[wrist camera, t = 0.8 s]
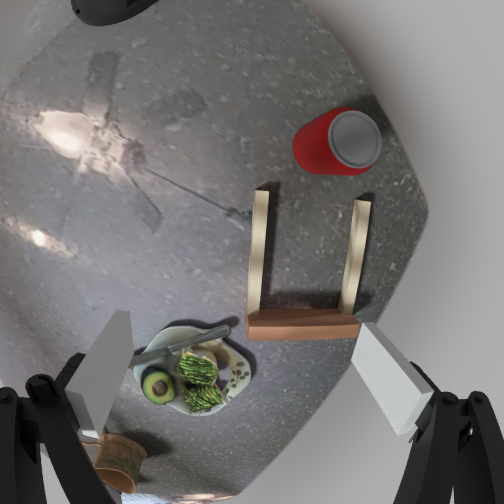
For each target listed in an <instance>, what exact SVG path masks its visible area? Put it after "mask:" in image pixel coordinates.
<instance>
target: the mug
mask: <svg viewBox="0 0 504 504" xmlns="http://www.w3.org/2000/svg"><path fill="white" fill-rule="evenodd" d="M81 443H82V444H83V445H97V446H99V447H100V448H99V451H98V454H97V457H96V460H95V463H92V464H93V466H94V468H95V469H96V471H97V473H98V475H99V476H100V478H101V480H103V481H104V482H106V483H107V484H109V485H110V486H112V487H114V488H115V489H117V490H119V491H122V492H124V493H127V494H133V493H134V492H135V490H136V485H137V479H138V474H139V470H140V466H141V462H143V461H145V460H146V458H147V453H146V451H145V449H144V448H143V447H142V446H141V445H139V444H138V443H137V442H135V441H133V440H132V439H129V438H127V437H125V436H122V435H118V434H113V433H104V434H101V436H100V439H98V443H96V442H93V443H87V442H83V441H81Z"/></svg>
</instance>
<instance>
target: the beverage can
mask: <svg viewBox="0 0 504 504" xmlns="http://www.w3.org/2000/svg"><path fill="white" fill-rule="evenodd" d="M381 149H382V137H381V133H380V130H379V128H378V126H377V125H376V123H375V122H374V121H373V120H372V119H371V118H370V117H369V116H368V115H366V114H364V113H362V112H361V111H359V110H356V109H354V108H350V107H338V108H335V109H332V110H330V111H329V112H327V113H325V114H323V115H321V116H319V117H318V118H316V119H314V120H313V121H311V122H309V123H308V124H306V125H305V126H303V127H302V128H301V129H300V130H299V131H298V132H297V133H296V135H295V137H294V140H293V153H294V156H295V159H296V160H297V162H298V164H299V165H300V166H301V167H302V168H303V169H305V170H306V171H308V172H310V173H313V174H322V175H358V174H362V173H364V172H366V171H367V170H368V169H370V168H371V167H372V166H373V164H374V163H375V161H376V160H377V158H378V157H379V155H380V152H381Z"/></svg>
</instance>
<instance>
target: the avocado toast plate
mask: <svg viewBox="0 0 504 504" xmlns="http://www.w3.org/2000/svg"><path fill="white" fill-rule="evenodd" d="M230 334H231V328H230V326H229V325H221V326H218V327H215V328H212V329H201V328H197V327H194V326H189V325H187V326H170V327H168V328H166V329H164V330H162V331H161V332H160V333H159V334H158V335H156V336H155V337H154V339H153V340H152V342H151V343H150V344H149V345H148V347H147V348H146V349H145V351H144V352H143V353H141V354H137V355H134V356H133V357H132V359H131V361H130V364H129V366H128V368H131V369H132V371H133V374H134V377H135V380H136V382H137V383H138V384H139V386H140V387H141V389H142V391H143V393H144V395H145V396H146V398H148V399H149V400H150V401H151V402H153V403H155V404H157V405H166V404H168V405H169V406H171V407H173V408H175V409H177V410H178V411H180V412H182V413H185V414H188V415H191V416H207V415H211V414H214V413H216V412H218V411H219V410H221V409H222V408H223V407H224V406H225V405H226V404H228V403H229V402H230V401H231V400H232V399H233V398H234V397H235V396H237V395H238V394H240V392H241V391H242V390H243V389H244V388H245V387H246V386H247V385H248V384H249V382H250V379H251V375H252V373H251V367H250V362H249V361H248V360H247V359H246V358H245V357H244V356H243V355H242V354H240V353H239V352H238V351H237V350H235V349H234V348H233V347H231V346H230V345H228V344H227V343H226V342H225V341H223V340H222V338H223V337H226V336H228V335H230ZM171 352H176V353H177V355H173V354H172V353H171ZM217 361H222V362H225V363H228V364H230V367H231V378H230V380H229V382H228V384H227V385H226V386H225V388H224V389H223V390H222V391H220V389H219V387H218V386H217V384H216V383H215V381H216V379H217V376H218V373H219V369H218V367H217Z"/></svg>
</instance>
